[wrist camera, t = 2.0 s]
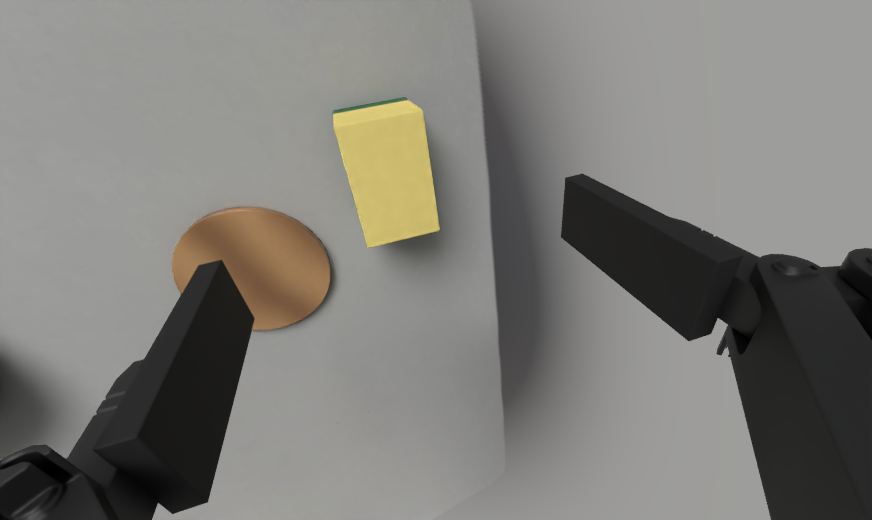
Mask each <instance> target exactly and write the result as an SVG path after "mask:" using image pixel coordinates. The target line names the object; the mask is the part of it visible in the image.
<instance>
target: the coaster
mask: <svg viewBox="0 0 872 520" xmlns="http://www.w3.org/2000/svg"><path fill="white" fill-rule="evenodd" d="M218 260H222V261H223V263H224V264H225V266H226V268H227V270H228V272H229V273H230V275H231V277H232V279H233V281H234V282H235V284H236V286H237V288H238V289H239V291H240V293H241V295H242V297H243V298H244V300H245V302H246V304H247V305H248V307H249V309H250V311H251V313H252V314H253V316H254V318H255V320H254V324H253V327H252V330H269V329H276V328H281V327H285V326H288V325H291V324H293V323H295V322H298V321H300V320H301V319H303V318H305V317H306V316H308V315H309V314H310V313H312V312H313V311H314V310H315V309H316V308H317V307H318V306H319V305H320V303H321V302H322V301H323V299H324V297H325V296H326V294H327V291H328V288H329V284H330V276H331V269H330V262H329V258H328V255H327V252H326V250H325V248H324V246H323V245H322V243H321V242H320V240H319V239H318V238H317V237H316V236H315V234H314V233H313V232H312V231H310V230H309V229H308V228H307V227H306V226H304V225H303V224H302V223H300V222H299V221H297V220H295V219H293V218H291V217H289V216H287V215H285V214H282V213H279V212H276V211H273V210H269V209H263V208H255V207H236V208H230V209H224V210H221V211H217V212H214V213H212V214H209V215H207V216H205V217H203V218H202V219H200V220H198V221H197V222H196V223H194V224H193V225H192V226H191V227H190V228H189V229H188V230H187V231H186V232H185V233H184V235H183V236H182V237H181V239H180V240H179V242H178V244H177V245H176V248H175V251H174V253H173V259H172V272H173V276H174V280H175V283H176V285H177V288H178V289H179V291H180V293H181V294H182V293H183V291H184V289H185V287H186V286H187V284H188V282H189V280H190V279H191V277H192V275H193V273H194V272H195V270H196V268H197V267H198V265H201V264H205V263H210V262H214V261H218Z"/></svg>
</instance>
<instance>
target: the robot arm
mask: <svg viewBox="0 0 872 520" xmlns="http://www.w3.org/2000/svg"><path fill="white" fill-rule="evenodd" d="M561 237H562V238H563V239H564V240H565V241H566V242H568V243H569V244H570V245H571V246H572V247H574V248H575V249H576V250H577V251H579V252H580V253H581V254H582V255H584V256H585V257H586V258H587V259H589V260H590V261H591V262H592V263H593V264H595V265H596V266H597V267H598V268H599V269H601V270H602V271H603V272H605V273H606V274H607V275H608V276H609V277H610V278H612V279H613V280H614V281H615V282H617V283H618V284H619V285H620V286H622V287H623V288H624V289H625V290H626V291H628V292H629V293H630V294H631V295H633V296H634V297H635V298H636V299H637V300H639V301H640V302H641V303H642V304H644V305H645V306H646V307H647V308H649V309H650V310H651V311H652V312H653V313H655V314H656V315H657V316H658V317H660V318H661V319H662V320H663V321H665V322H666V323H667V324H668V325H669V326H671V327H672V328H673V329H675V331H677V332H678V333H679V334H681V335H682V336H683V337H684V338H685V339H687V340H688V341H691V340H694V339H697V338H700V337H703V336H706V335H709V334H711V333H712V330H713V328H714V325H715V323H716V321H717V318H719V319H721V320H722V321H724V322H725V323H727V324H728V326H727V329H726V331H725V333H724V335H723V338H722V340H721V342H720V344H719V347H718V349H717V354H718V355H722V353H723V351H724V349H725V348H727V347H728V349H729V355H728V356H729V357H731V361H732V365H733V369H734V373H735V377H736V381H737V385H738V389H739V393H740V397H741V401H742V405H743V409H744V413H745V417H746V421H747V425H748V429H749V433H750V437H751V441H752V445H753V449H754V453H755V457H756V461H757V465H758V469H759V473H760V477H761V481H762V485H763V489H764V493H765V497H766V501H767V505H768V509H769V513H770V517H771V520H872V249H869V248H864V249H855V250H853V251H851V252H849V254H848V255H847V257H846V258H845V260H844V262H843V263H842V265H841V266H834V267H820V266H818V265H816V264H814V263H812V262H810V261H808V260H805V259H802V258H798V257H795V256H789V255H784V254H769V255H765V256H762V257H757V256H755V255H753V254H751V253H749V252H747V251H745V250H743V249H741V248H739V247H737V246H735V245H733V244H731V243H729V242H727V241H725V240H723V239H721V238H719V237H717V236H716V237H714V236H713V234H710V233H709V232H706V231H704V230H703V231H701V229H700V228H698V227H696V226H694V225H692V224H690V223H688V222H686V221H682V220H678V219H674V218H671V217H668V216H666V215H664V214H662V213H660V212H658V211H656V210H654V209H652V208H650V207H648V206H646V205H644V204H642V203H640V202H638V201H636V200H634V199H632V198H630V197H628V196H626V195H624V194H622V193H620V192H618V191H616V190H614V189H612V188H610V187H608V186H606V185H604V184H602V183H600V182H598V181H596V180H594V179H592V178H590V177H588V176H586V175H584V174H580V175H575V176H571V177H567V178H565V191H564V205H563V218H562V231H561ZM254 320H255V318H254V316H253V314H252V313H251V311H250V309H249V307H248V305H247V304H246V302H245V300H244V298H243V297H242V295H241V293H240V291H239V289H238V288H237V286H236V284H235V282H234V281H233V279H232V277H231V275H230V273H229V272H228V270H227V268H226V266H225V264H224V263H223V261H222V260H218V261H214V262H210V263H205V264H201V265H198V267H197V268H196V270H195V272H194V273H193V275H192V277H191V279H190V280H189V282H188V284H187V286H186V287H185V289H184V291H183V293H182V294H181V296H180V298H179V300H178V301H177V303H176V305H175V307H174V308H173V310H172V312H171V314H170V315H169V317H168V319H167V321H166V322H165V324H164V326H163V327H162V329H161V331H160V333H159V334H158V336H157V338H156V340H155V341H154V343H153V345H152V347H151V348H150V350H149V352H148V354H147V355H146V357H145V359H144V360H140V361H136V362H134V363H133V364H132V365H131V366H130V367H129V368H128V369H127V370H125V371H124V372H123V373H122V374H121V375H120V376H119V377H118V378H117V379H116V381H115V382H114V384H113V386H112V387H111V389H110V390H109V392H108V394H107V395H106V400H103V402H102V403H101V405H100V406H99V408H98V410H97V411H96V412H97V415H94V416H93V418H92V419H91V421H90V423H89V424H88V426H87V427H86V429H85V431H84V432H83V434H82V435H81V437H80V439H79V440H78V442H77V443H76V445H75V447H74V448H73V450H72V451H71V453H70V455H69V456H68V458H67V459H65V458H64V457H62V456H61V455H59V454H58V453H57V452H55V451H54V450H53V449H51V448H50V447H48V446H47V445H33V446H30V447H27V448H25V449H22V450H19V451H16V452H14V453H13V454H11V455H9V456H7V457H6V458H4V459H2V460H0V520H152V518H153V515H154V512H155V509H156V507H157V504H158V503H159V504H161V505H162V506H163V507H164V508H166V509H167V510H168V511H169V512H171V513H172V514H174V513H177V512H180V511H183V510H186V509H189V508H192V507H195V506H198V505H201V504H204V503H207V502H208V499H209V496H210V492H211V488H212V484H213V480H214V476H215V472H216V468H217V464H218V460H219V456H220V453H221V449H222V445H223V441H224V437H225V433H226V429H227V425H228V421H229V417H230V413H231V410H232V406H233V402H234V398H235V394H236V390H237V386H238V382H239V378H240V374H241V370H242V367H243V363H244V359H245V355H246V351H247V347H248V343H249V339H250V335H251V331H252V327H253V324H254Z"/></svg>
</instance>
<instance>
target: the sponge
mask: <svg viewBox="0 0 872 520" xmlns="http://www.w3.org/2000/svg"><path fill="white" fill-rule="evenodd" d="M333 121H334V130H335V134H336V137H337V141H338V144H339V148H340V151H341V155H342V159H343V162H344V166H345V169H346V173H347V176H348V180H349V183H350V187H351V190H352V194H353V198H354V201H355V205H356V208H357V212H358V215H359V219H360V222H361V226H362V230H363V233H364V237H365V240H366V244H367V247H368V248H371V247H375V246H379V245H383V244H387V243H391V242H395V241H399V240H404V239H408V238H412V237H416V236H420V235H424V234H428V233H432V232H436V231H440V226H439V219H438V212H437V205H436V198H435V191H434V184H433V177H432V170H431V163H430V156H429V149H428V142H427V135H426V128H425V121H424V114H423V110H422V109H420V108H419V107H418V106H416V105H415V104H414V103H412V102H411V101H409V100H408V99H406V98H405V97H404V98H399V99H393V100H388V101H382V102H377V103H372V104H366V105H361V106H356V107H350V108H345V109H339V110H334V111H333Z"/></svg>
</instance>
